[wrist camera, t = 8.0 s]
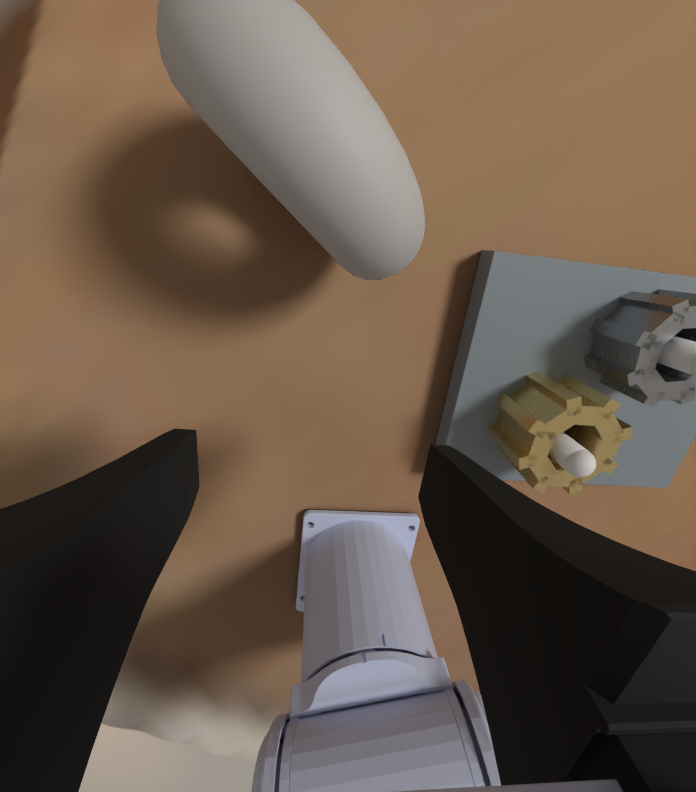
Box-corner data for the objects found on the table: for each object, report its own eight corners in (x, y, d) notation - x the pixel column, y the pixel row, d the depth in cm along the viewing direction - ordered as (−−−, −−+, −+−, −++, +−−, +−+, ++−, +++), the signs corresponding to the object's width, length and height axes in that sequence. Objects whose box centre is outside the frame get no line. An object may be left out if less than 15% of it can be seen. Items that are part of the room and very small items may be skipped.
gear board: (647, 474, 25) (744, 541, 20) (430, 462, 23) (467, 533, 18) (746, 284, 20) (914, 300, 15) (481, 250, 18) (555, 252, 13)
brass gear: (562, 459, 22) (604, 495, 19) (478, 454, 22) (507, 491, 18) (596, 376, 20) (649, 401, 17) (504, 368, 19) (541, 392, 16)
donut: (197, 116, 15) (18, -75, 6) (248, 45, 15) (132, -296, 5) (357, 286, 19) (398, 326, 9) (407, 235, 18) (502, 225, 9)
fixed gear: (664, 380, 21) (717, 401, 18) (576, 388, 20) (617, 410, 18) (693, 286, 18) (759, 293, 16) (596, 293, 18) (646, 302, 15)
